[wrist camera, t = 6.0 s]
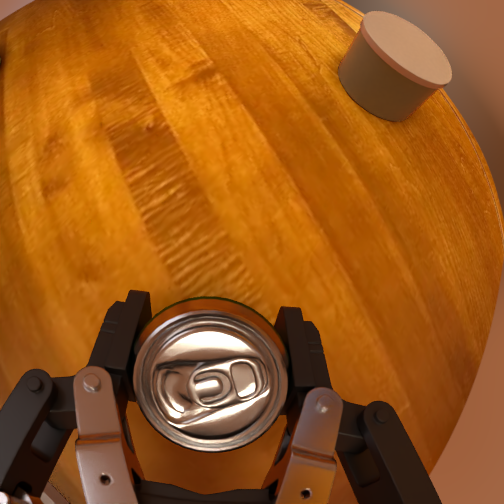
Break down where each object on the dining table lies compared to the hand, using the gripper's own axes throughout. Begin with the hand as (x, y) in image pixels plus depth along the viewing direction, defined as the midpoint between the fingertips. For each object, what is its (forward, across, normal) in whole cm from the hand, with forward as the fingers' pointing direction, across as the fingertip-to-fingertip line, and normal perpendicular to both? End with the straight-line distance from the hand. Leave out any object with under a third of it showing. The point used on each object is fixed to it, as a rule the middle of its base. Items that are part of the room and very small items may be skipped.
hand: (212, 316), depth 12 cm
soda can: (+5, 0, +7) cm, 9 cm away
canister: (+22, -14, -10) cm, 28 cm away
